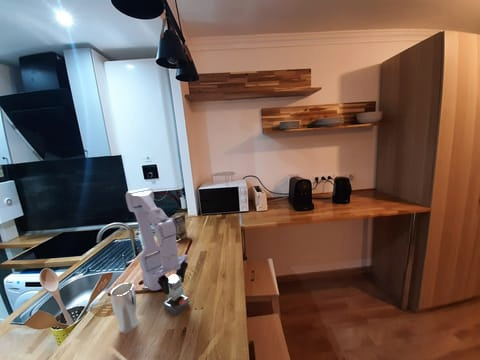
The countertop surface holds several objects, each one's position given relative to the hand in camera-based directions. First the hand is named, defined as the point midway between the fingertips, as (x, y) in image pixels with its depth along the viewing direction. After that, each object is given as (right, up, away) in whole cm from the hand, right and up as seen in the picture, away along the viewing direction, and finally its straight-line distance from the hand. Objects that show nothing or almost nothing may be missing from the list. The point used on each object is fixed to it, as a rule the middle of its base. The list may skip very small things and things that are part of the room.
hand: (174, 287), depth 74 cm
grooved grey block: (0, -3, +1) cm, 3 cm away
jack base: (+1, -9, +2) cm, 9 cm away
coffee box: (-17, 0, +61) cm, 64 cm away
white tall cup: (-14, -12, -5) cm, 19 cm away
